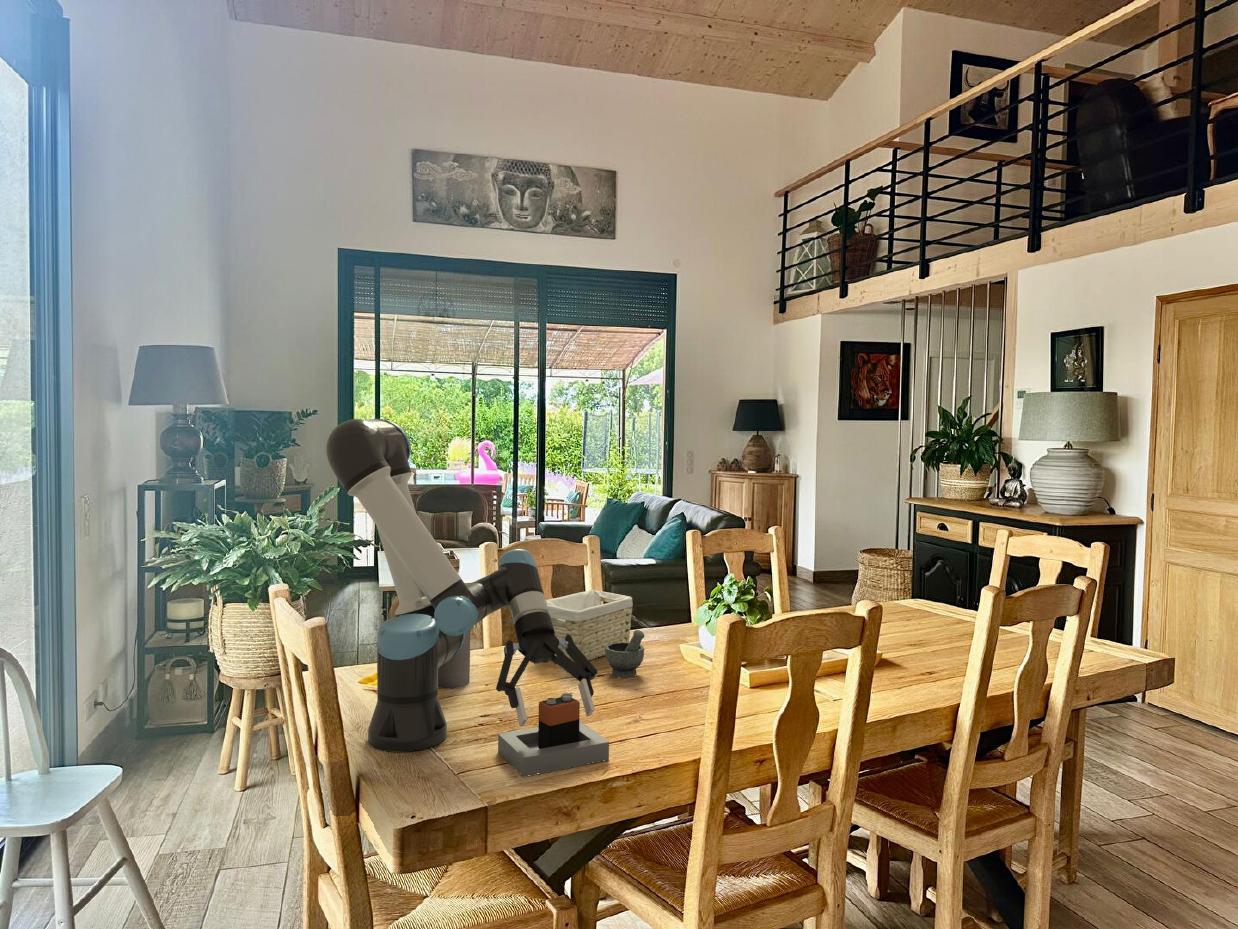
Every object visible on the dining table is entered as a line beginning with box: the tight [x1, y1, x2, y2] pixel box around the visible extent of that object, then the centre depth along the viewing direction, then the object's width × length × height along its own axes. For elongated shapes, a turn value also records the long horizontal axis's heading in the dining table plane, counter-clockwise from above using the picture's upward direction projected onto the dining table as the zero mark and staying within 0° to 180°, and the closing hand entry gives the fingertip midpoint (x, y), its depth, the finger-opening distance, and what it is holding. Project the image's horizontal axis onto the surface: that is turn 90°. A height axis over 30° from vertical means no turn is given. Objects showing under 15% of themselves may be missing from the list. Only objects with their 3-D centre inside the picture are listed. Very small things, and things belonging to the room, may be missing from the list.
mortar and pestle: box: [605, 629, 645, 679], centre depth 212 cm, size 11×9×12 cm
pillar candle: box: [438, 629, 472, 690], centre depth 204 cm, size 10×10×15 cm
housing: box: [497, 720, 610, 777], centre depth 160 cm, size 17×13×4 cm
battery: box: [537, 692, 581, 749], centre depth 160 cm, size 4×7×10 cm, turn 126°
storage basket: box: [546, 589, 634, 661], centre depth 233 cm, size 24×16×15 cm
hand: (557, 718), depth 160 cm, fingers open, 13 cm apart
